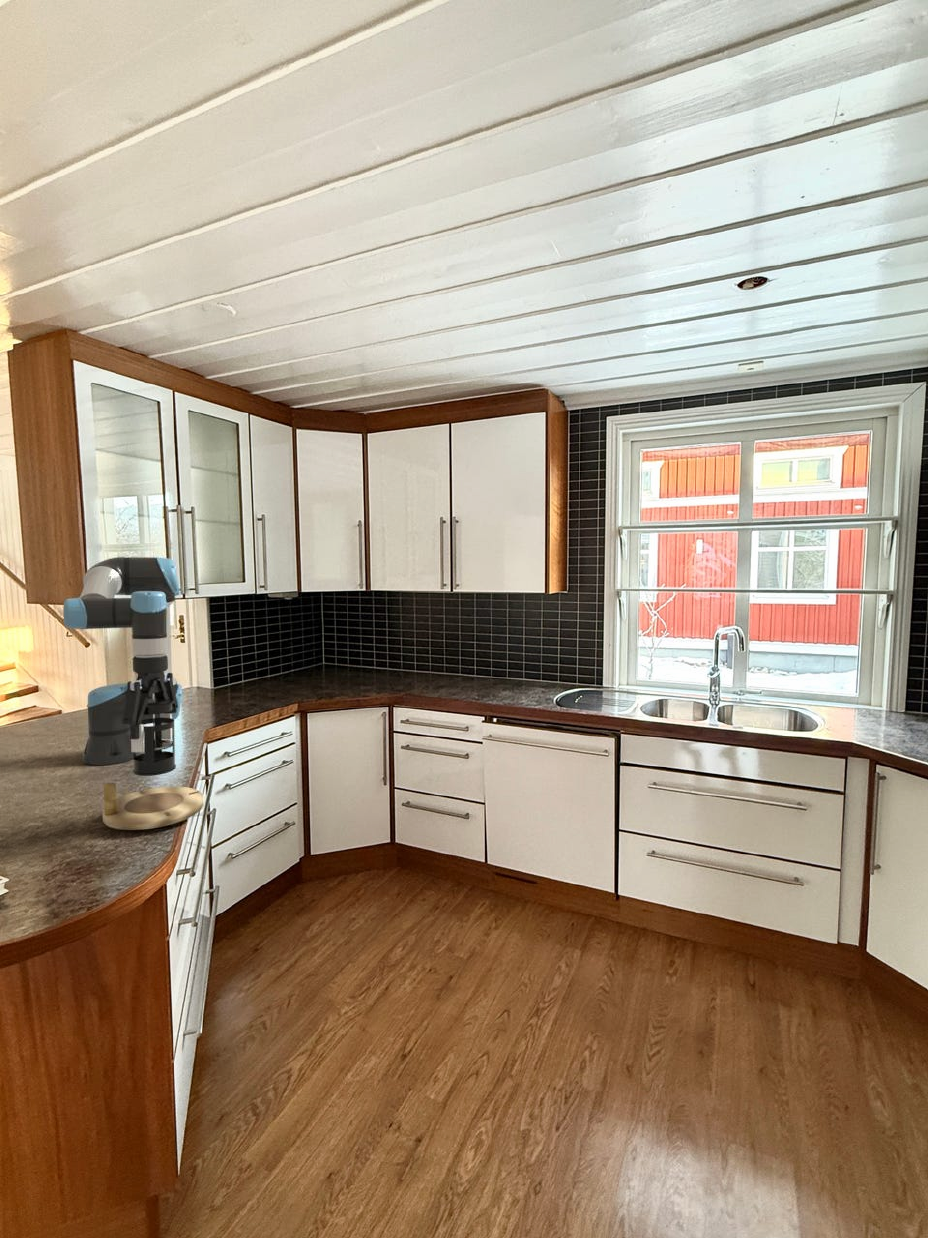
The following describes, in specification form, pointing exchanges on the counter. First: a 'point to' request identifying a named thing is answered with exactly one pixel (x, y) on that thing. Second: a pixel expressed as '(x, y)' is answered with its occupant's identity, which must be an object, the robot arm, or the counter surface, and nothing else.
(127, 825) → the turntable
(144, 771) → the french press
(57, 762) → the counter surface
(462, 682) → the counter surface
